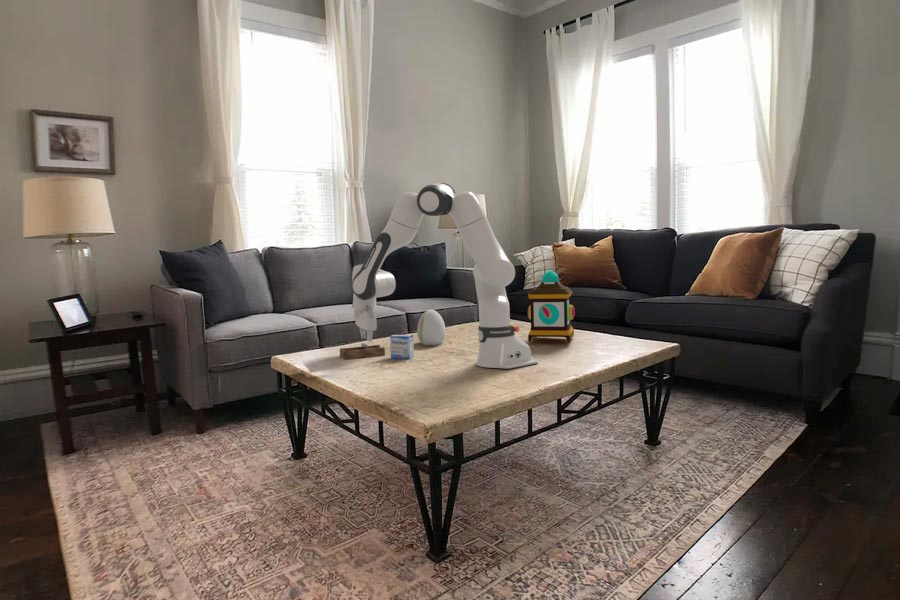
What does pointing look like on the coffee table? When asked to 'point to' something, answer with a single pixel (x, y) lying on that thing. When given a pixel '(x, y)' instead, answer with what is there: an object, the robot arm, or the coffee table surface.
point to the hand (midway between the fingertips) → (366, 339)
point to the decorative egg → (431, 328)
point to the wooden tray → (362, 352)
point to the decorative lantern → (550, 309)
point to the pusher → (364, 346)
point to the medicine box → (402, 346)
